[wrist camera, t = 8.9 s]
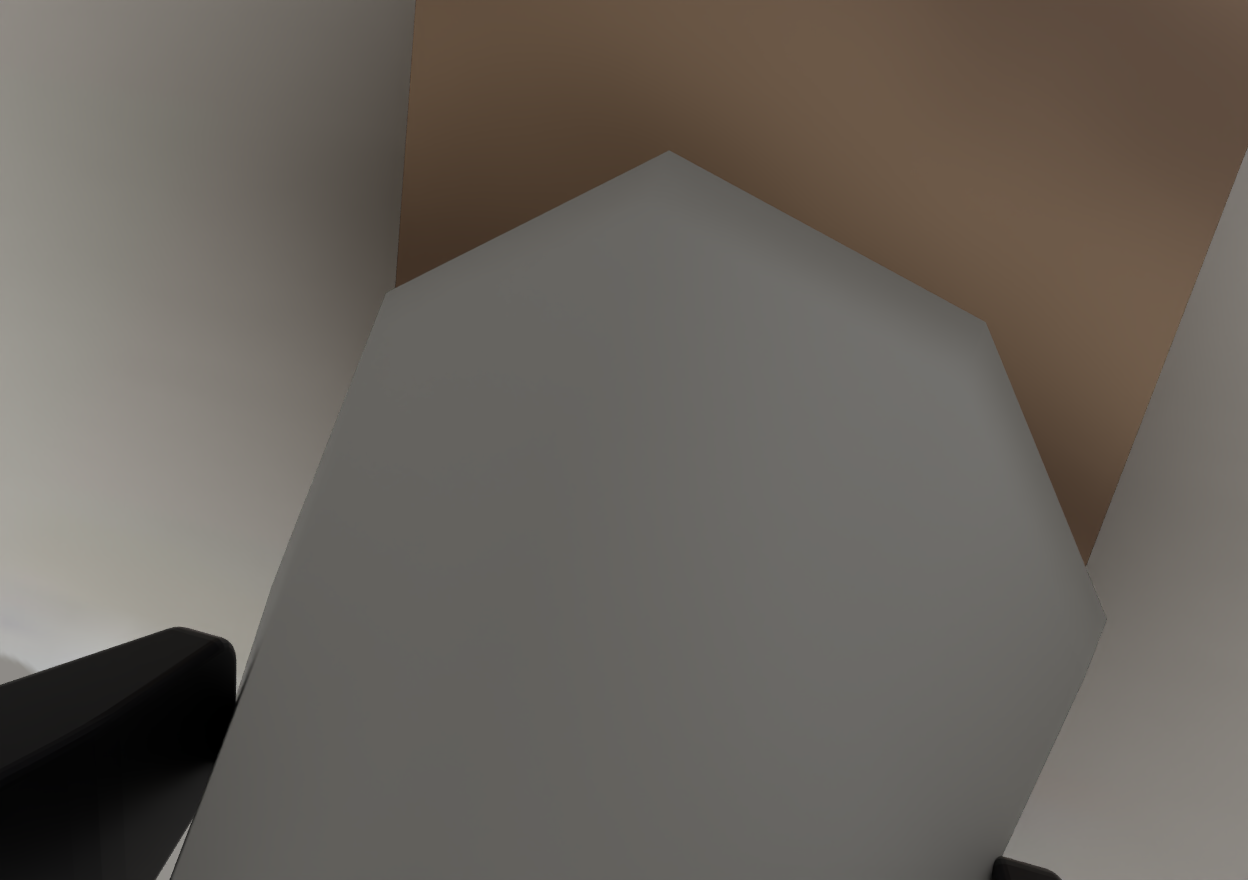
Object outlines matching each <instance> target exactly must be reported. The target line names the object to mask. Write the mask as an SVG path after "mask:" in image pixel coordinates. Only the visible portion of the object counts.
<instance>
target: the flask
mask: <svg viewBox="0 0 1248 880" xmlns="http://www.w3.org/2000/svg"><path fill="white" fill-rule="evenodd" d="M1106 620H1107V619H1106V616H1105V614H1104V611H1103V609H1102V606H1101V604H1100V601H1099V599H1098V596H1097V594H1096V592H1095V589H1094V587H1093V584H1092V582H1091V579H1090V577H1089V574H1088V572H1087V570H1086V567H1085V565H1084V562H1083V560H1082V557H1081V555H1080V552H1079V550H1078V547H1077V545H1076V543H1075V540H1074V538H1073V535H1072V533H1071V530H1070V528H1069V525H1068V523H1067V520H1066V518H1065V516H1064V513H1063V511H1062V508H1061V506H1060V503H1059V501H1058V498H1057V496H1056V493H1055V491H1054V489H1053V486H1052V484H1051V481H1050V479H1049V476H1048V474H1047V471H1046V469H1045V466H1044V464H1043V462H1042V459H1041V457H1040V454H1039V452H1038V449H1037V447H1036V444H1035V442H1034V439H1033V437H1032V435H1031V432H1030V430H1029V427H1028V425H1027V422H1026V420H1025V417H1024V415H1023V412H1022V410H1021V408H1020V405H1019V403H1018V400H1017V398H1016V395H1015V393H1014V390H1013V388H1012V385H1011V383H1010V381H1009V378H1008V376H1007V373H1006V371H1005V368H1004V366H1003V363H1002V361H1001V358H1000V356H999V354H998V351H997V349H996V346H995V344H994V341H993V339H992V336H991V334H990V331H989V329H988V327H987V324H986V322H984V321H983V320H981V319H979V318H977V317H975V316H973V315H972V314H970V313H968V312H966V311H964V310H962V309H961V308H959V307H957V306H955V305H953V304H951V303H949V302H948V301H946V300H944V299H942V298H940V297H938V296H937V295H935V294H933V293H931V292H929V291H927V290H926V289H924V288H922V287H920V286H918V285H916V284H914V283H913V282H911V281H909V280H907V279H905V278H903V277H902V276H900V275H898V274H896V273H894V272H892V271H891V270H889V269H887V268H885V267H883V266H881V265H879V264H878V263H876V262H874V261H872V260H870V259H868V258H867V257H865V256H863V255H861V254H859V253H857V252H856V251H854V250H852V249H850V248H848V247H846V246H844V245H843V244H841V243H839V242H837V241H835V240H833V239H832V238H830V237H828V236H826V235H824V234H822V233H821V232H819V231H817V230H815V229H813V228H811V227H810V226H808V225H806V224H804V223H802V222H800V221H798V220H797V219H795V218H793V217H791V216H789V215H787V214H786V213H784V212H782V211H780V210H778V209H776V208H775V207H773V206H771V205H769V204H767V203H765V202H763V201H762V200H760V199H758V198H756V197H754V196H752V195H751V194H749V193H747V192H745V191H743V190H741V189H740V188H738V187H736V186H734V185H732V184H730V183H728V182H727V181H725V180H723V179H721V178H719V177H717V176H716V175H714V174H712V173H710V172H708V171H706V170H705V169H703V168H701V167H699V166H697V165H695V164H694V163H692V162H690V161H688V160H686V159H684V158H682V157H681V156H679V155H677V154H675V153H673V152H671V151H670V150H669V151H667V152H665V153H663V154H661V155H659V156H657V157H655V158H653V159H651V160H649V161H647V162H645V163H643V164H641V165H639V166H637V167H635V168H633V169H631V170H629V171H627V172H625V173H623V174H621V175H619V176H617V177H615V178H613V179H611V180H609V181H607V182H605V183H603V184H601V185H599V186H597V187H595V188H593V189H591V190H589V191H587V192H585V193H584V194H582V195H580V196H578V197H576V198H574V199H572V200H570V201H568V202H566V203H564V204H562V205H560V206H558V207H556V208H554V209H552V210H550V211H548V212H546V213H544V214H542V215H540V216H538V217H536V218H534V219H532V220H530V221H528V222H526V223H524V224H522V225H520V226H518V227H516V228H514V229H512V230H510V231H508V232H506V233H504V234H502V235H500V236H498V237H496V238H494V239H492V240H490V241H488V242H486V243H484V244H482V245H480V246H478V247H476V248H474V249H472V250H470V251H468V252H466V253H464V254H462V255H460V256H458V257H456V258H454V259H452V260H450V261H448V262H446V263H444V264H442V265H440V266H438V267H436V268H434V269H432V270H430V271H428V272H426V273H424V274H422V275H420V276H418V277H416V278H414V279H412V280H410V281H409V282H407V283H405V284H403V285H401V286H399V287H397V288H395V289H393V290H391V291H389V292H387V293H386V294H385V297H384V299H383V302H382V304H381V307H380V310H379V312H378V315H377V317H376V320H375V322H374V325H373V328H372V330H371V333H370V335H369V338H368V340H367V343H366V345H365V348H364V351H363V353H362V356H361V358H360V361H359V363H358V366H357V369H356V371H355V374H354V376H353V379H352V381H351V384H350V386H349V389H348V392H347V394H346V397H345V399H344V402H343V404H342V407H341V410H340V412H339V415H338V417H337V420H336V422H335V425H334V427H333V430H332V433H331V435H330V438H329V440H328V443H327V445H326V448H325V450H324V453H323V456H322V458H321V461H320V463H319V466H318V468H317V471H316V474H315V476H314V479H313V481H312V484H311V486H310V489H309V491H308V494H307V497H306V499H305V502H304V504H303V507H302V509H301V512H300V515H299V517H298V520H297V522H296V525H295V527H294V530H293V532H292V535H291V538H290V540H289V543H288V545H287V548H286V551H285V553H284V556H283V558H282V561H281V564H280V566H279V569H278V571H277V574H276V576H275V579H274V582H273V584H272V587H271V590H270V593H269V596H268V599H267V602H266V606H265V609H264V612H263V615H262V618H261V621H260V624H259V627H258V630H257V633H256V636H255V639H254V643H253V646H252V649H251V652H250V655H249V658H248V661H247V664H246V667H245V670H244V673H243V677H242V680H241V683H240V686H239V689H238V692H237V695H236V705H235V708H234V711H233V713H232V716H231V719H230V722H229V724H228V727H227V730H226V733H225V735H224V738H223V741H222V744H221V746H220V749H219V752H218V755H217V757H216V760H215V762H214V765H213V768H212V770H211V773H210V775H209V778H208V781H207V783H206V786H205V788H204V791H203V794H202V796H201V799H200V802H199V804H198V807H197V809H196V812H195V815H194V817H193V820H192V823H191V825H190V828H189V830H188V833H187V836H186V838H185V841H184V844H183V846H182V849H181V851H180V854H179V857H178V859H177V862H176V864H175V867H174V870H173V872H172V875H171V878H170V880H991V876H992V868H993V865H994V862H995V860H996V859H997V858H998V857H1000V856H1002V855H1003V853H1004V851H1005V849H1006V846H1007V844H1008V842H1009V840H1010V838H1011V836H1012V833H1013V831H1014V829H1015V827H1016V825H1017V823H1018V820H1019V818H1020V816H1021V814H1022V812H1023V810H1024V807H1025V805H1026V803H1027V801H1028V799H1029V796H1030V794H1031V792H1032V790H1033V788H1034V786H1035V783H1036V781H1037V779H1038V777H1039V775H1040V773H1041V770H1042V768H1043V766H1044V764H1045V762H1046V760H1047V757H1048V755H1049V753H1050V751H1051V749H1052V747H1053V744H1054V742H1055V740H1056V738H1057V736H1058V734H1059V731H1060V729H1061V727H1062V725H1063V723H1064V721H1065V718H1066V716H1067V714H1068V712H1069V710H1070V708H1071V705H1072V703H1073V701H1074V699H1075V697H1076V695H1077V692H1078V690H1079V688H1080V686H1081V684H1082V682H1083V679H1084V677H1085V675H1086V672H1087V669H1088V667H1089V664H1090V662H1091V659H1092V656H1093V654H1094V651H1095V649H1096V646H1097V643H1098V641H1099V638H1100V636H1101V633H1102V631H1103V628H1104V625H1105V623H1106Z"/></svg>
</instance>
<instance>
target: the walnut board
mask: <svg viewBox="0 0 1248 880" xmlns="http://www.w3.org/2000/svg"><path fill="white" fill-rule="evenodd" d="M1247 147H1248V0H416V5H415V19H414V33H413V47H412V61H411V75H410V89H409V103H408V117H407V131H406V145H405V159H404V173H403V187H402V201H401V215H400V229H399V243H398V257H397V271H396V285H395V288H397V287H399V286H401V285H403V284H405V283H407V282H409V281H410V280H412V279H414V278H416V277H418V276H420V275H422V274H424V273H426V272H428V271H430V270H432V269H434V268H436V267H438V266H440V265H442V264H444V263H446V262H448V261H450V260H452V259H454V258H456V257H458V256H460V255H462V254H464V253H466V252H468V251H470V250H472V249H474V248H476V247H478V246H480V245H482V244H484V243H486V242H488V241H490V240H492V239H494V238H496V237H498V236H500V235H502V234H504V233H506V232H508V231H510V230H512V229H514V228H516V227H518V226H520V225H522V224H524V223H526V222H528V221H530V220H532V219H534V218H536V217H538V216H540V215H542V214H544V213H546V212H548V211H550V210H552V209H554V208H556V207H558V206H560V205H562V204H564V203H566V202H568V201H570V200H572V199H574V198H576V197H578V196H580V195H582V194H584V193H585V192H587V191H589V190H591V189H593V188H595V187H597V186H599V185H601V184H603V183H605V182H607V181H609V180H611V179H613V178H615V177H617V176H619V175H621V174H623V173H625V172H627V171H629V170H631V169H633V168H635V167H637V166H639V165H641V164H643V163H645V162H647V161H649V160H651V159H653V158H655V157H657V156H659V155H661V154H663V153H665V152H667V151H669V150H670V151H671V152H673V153H675V154H677V155H679V156H681V157H682V158H684V159H686V160H688V161H690V162H692V163H694V164H695V165H697V166H699V167H701V168H703V169H705V170H706V171H708V172H710V173H712V174H714V175H716V176H717V177H719V178H721V179H723V180H725V181H727V182H728V183H730V184H732V185H734V186H736V187H738V188H740V189H741V190H743V191H745V192H747V193H749V194H751V195H752V196H754V197H756V198H758V199H760V200H762V201H763V202H765V203H767V204H769V205H771V206H773V207H775V208H776V209H778V210H780V211H782V212H784V213H786V214H787V215H789V216H791V217H793V218H795V219H797V220H798V221H800V222H802V223H804V224H806V225H808V226H810V227H811V228H813V229H815V230H817V231H819V232H821V233H822V234H824V235H826V236H828V237H830V238H832V239H833V240H835V241H837V242H839V243H841V244H843V245H844V246H846V247H848V248H850V249H852V250H854V251H856V252H857V253H859V254H861V255H863V256H865V257H867V258H868V259H870V260H872V261H874V262H876V263H878V264H879V265H881V266H883V267H885V268H887V269H889V270H891V271H892V272H894V273H896V274H898V275H900V276H902V277H903V278H905V279H907V280H909V281H911V282H913V283H914V284H916V285H918V286H920V287H922V288H924V289H926V290H927V291H929V292H931V293H933V294H935V295H937V296H938V297H940V298H942V299H944V300H946V301H948V302H949V303H951V304H953V305H955V306H957V307H959V308H961V309H962V310H964V311H966V312H968V313H970V314H972V315H973V316H975V317H977V318H979V319H981V320H983V321H984V322H986V324H987V327H988V329H989V331H990V334H991V336H992V339H993V341H994V344H995V346H996V349H997V351H998V354H999V356H1000V358H1001V361H1002V363H1003V366H1004V368H1005V371H1006V373H1007V376H1008V378H1009V381H1010V383H1011V385H1012V388H1013V390H1014V393H1015V395H1016V398H1017V400H1018V403H1019V405H1020V408H1021V410H1022V412H1023V415H1024V417H1025V420H1026V422H1027V425H1028V427H1029V430H1030V432H1031V435H1032V437H1033V439H1034V442H1035V444H1036V447H1037V449H1038V452H1039V454H1040V457H1041V459H1042V462H1043V464H1044V466H1045V469H1046V471H1047V474H1048V476H1049V479H1050V481H1051V484H1052V486H1053V489H1054V491H1055V493H1056V496H1057V498H1058V501H1059V503H1060V506H1061V508H1062V511H1063V513H1064V516H1065V518H1066V520H1067V523H1068V525H1069V528H1070V530H1071V533H1072V535H1073V538H1074V540H1075V543H1076V545H1077V547H1078V550H1079V552H1080V555H1081V557H1082V560H1083V562H1084V565H1085V567H1086V564H1087V562H1088V559H1089V557H1090V554H1091V551H1092V549H1093V546H1094V544H1095V541H1096V539H1097V536H1098V533H1099V531H1100V528H1101V526H1102V523H1103V520H1104V518H1105V515H1106V513H1107V510H1108V507H1109V505H1110V502H1111V500H1112V497H1113V495H1114V492H1115V489H1116V487H1117V484H1118V482H1119V479H1120V476H1121V474H1122V471H1123V469H1124V466H1125V463H1126V461H1127V458H1128V456H1129V453H1130V450H1131V448H1132V445H1133V443H1134V440H1135V438H1136V435H1137V432H1138V430H1139V427H1140V425H1141V422H1142V419H1143V417H1144V414H1145V412H1146V409H1147V406H1148V404H1149V401H1150V399H1151V396H1152V393H1153V391H1154V388H1155V386H1156V383H1157V381H1158V378H1159V375H1160V373H1161V370H1162V368H1163V365H1164V362H1165V360H1166V357H1167V355H1168V352H1169V349H1170V347H1171V344H1172V342H1173V339H1174V336H1175V334H1176V331H1177V329H1178V326H1179V324H1180V321H1181V318H1182V316H1183V313H1184V311H1185V308H1186V305H1187V303H1188V300H1189V298H1190V295H1191V292H1192V290H1193V287H1194V285H1195V282H1196V279H1197V277H1198V274H1199V272H1200V269H1201V267H1202V264H1203V261H1204V259H1205V256H1206V254H1207V251H1208V248H1209V246H1210V243H1211V241H1212V238H1213V235H1214V233H1215V230H1216V228H1217V225H1218V222H1219V220H1220V217H1221V215H1222V212H1223V210H1224V207H1225V204H1226V202H1227V199H1228V197H1229V194H1230V191H1231V189H1232V186H1233V184H1234V181H1235V178H1236V176H1237V173H1238V171H1239V168H1240V165H1241V163H1242V160H1243V158H1244V155H1245V153H1246V150H1247Z"/></svg>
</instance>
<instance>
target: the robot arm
mask: <svg viewBox="0 0 1248 880" xmlns="http://www.w3.org/2000/svg"><path fill="white" fill-rule="evenodd" d="M235 705H236V653H235V650H234V648H233V646H232V644H231V643H230V642H229V641H227V640H226V639H224V638H222V637H218V636H215V635H211V634H207V633H204V632H200V631H197V630H193V629H190V628H185V627H173V628H169V629H166V630H163V631H160V632H157V633H154V634H151V635H148V636H145V637H142V638H139V639H136V640H133V641H130V642H127V643H124V644H121V645H118V646H115V647H112V648H109V649H106V650H103V651H100V652H97V653H94V654H91V655H88V656H85V657H82V658H79V659H76V660H73V661H70V662H67V663H64V664H61V665H58V666H55V667H52V668H49V669H46V670H43V671H40V672H37V673H34V674H31V675H28V676H26V677H23V678H20V679H17V680H13V681H11V682H8V683H5V684H2V685H0V880H156V878H157V877H158V875H159V873H160V872H161V870H162V869H163V867H164V865H165V864H166V862H167V860H168V859H169V857H170V856H171V854H172V852H173V851H174V849H175V847H176V846H177V844H178V842H179V841H180V839H181V837H182V836H183V834H184V832H185V831H186V829H187V828H188V826H189V824H190V823H191V821H192V819H193V817H194V815H195V812H196V809H197V807H198V804H199V802H200V799H201V796H202V794H203V791H204V788H205V786H206V783H207V781H208V778H209V775H210V773H211V770H212V768H213V765H214V762H215V760H216V757H217V755H218V752H219V749H220V746H221V744H222V741H223V738H224V735H225V733H226V730H227V727H228V724H229V722H230V719H231V716H232V713H233V711H234V708H235ZM991 880H1062V879H1061V878H1060V877H1059V876H1058V875H1056V874H1055V873H1054V872H1052V871H1050V870H1048V869H1046V868H1042V867H1038V866H1035V865H1031V864H1028V863H1024V862H1021V861H1017V860H1013V859H1010V858H1006V857H1003V856H1000V857H998V858H997V859H996V860H995V862H994V865H993V868H992V876H991Z"/></svg>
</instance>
